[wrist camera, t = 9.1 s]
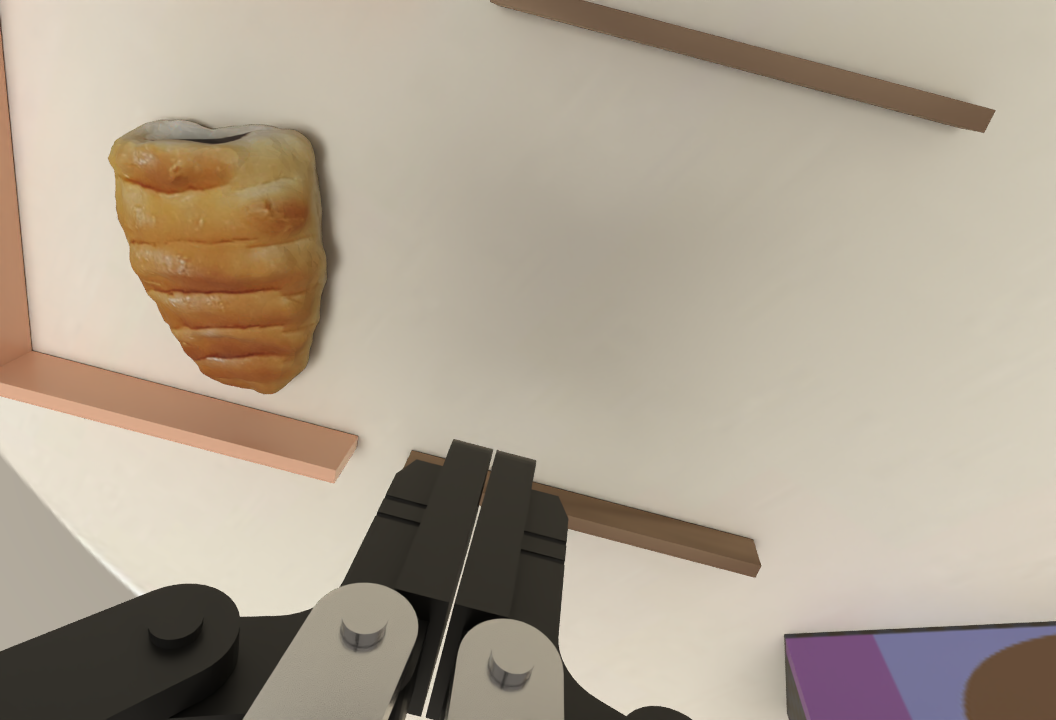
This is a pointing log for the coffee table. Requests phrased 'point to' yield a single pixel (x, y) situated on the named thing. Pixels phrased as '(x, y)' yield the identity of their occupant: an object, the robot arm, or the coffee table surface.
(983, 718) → the cereal box
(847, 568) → the coffee table surface
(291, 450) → the terracotta pen
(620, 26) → the walnut chute
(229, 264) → the pastry
